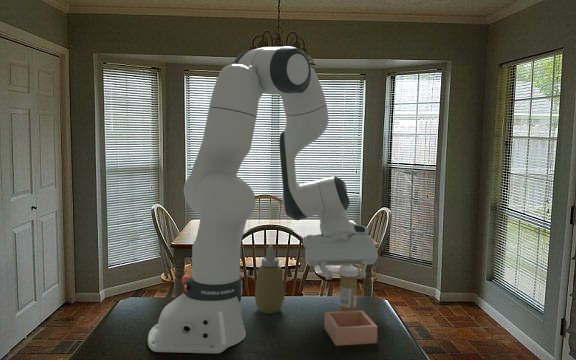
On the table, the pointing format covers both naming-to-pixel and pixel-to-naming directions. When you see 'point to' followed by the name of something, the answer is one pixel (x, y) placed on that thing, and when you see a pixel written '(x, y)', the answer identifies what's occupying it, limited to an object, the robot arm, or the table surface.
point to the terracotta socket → (350, 327)
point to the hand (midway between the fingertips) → (346, 278)
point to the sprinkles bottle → (348, 288)
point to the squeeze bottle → (269, 284)
